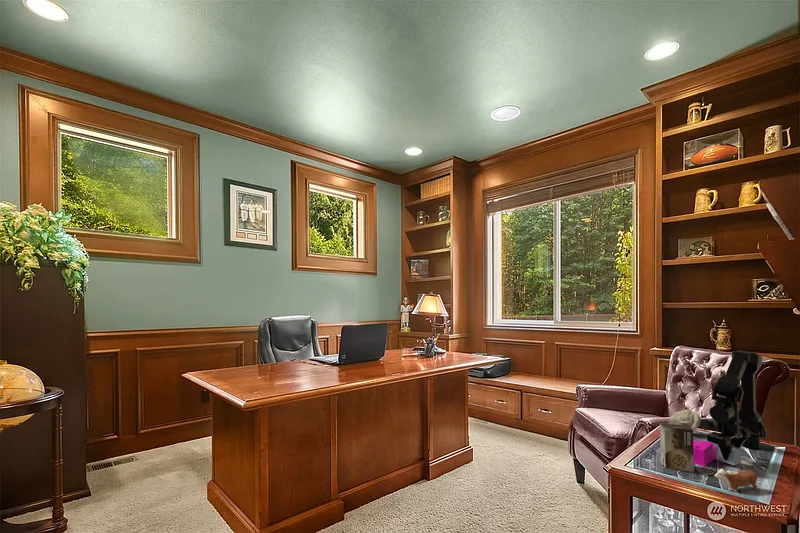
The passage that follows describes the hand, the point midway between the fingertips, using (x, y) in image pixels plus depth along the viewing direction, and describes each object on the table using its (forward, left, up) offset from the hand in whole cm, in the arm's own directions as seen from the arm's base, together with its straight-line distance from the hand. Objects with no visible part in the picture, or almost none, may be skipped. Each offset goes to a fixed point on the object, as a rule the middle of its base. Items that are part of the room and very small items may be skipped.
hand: (729, 458), depth 151 cm
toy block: (+3, -4, +1) cm, 5 cm away
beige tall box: (+20, -7, -3) cm, 21 cm away
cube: (0, 0, -1) cm, 1 cm away
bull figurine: (+20, +11, -3) cm, 23 cm away
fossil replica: (-18, -25, -3) cm, 31 cm away
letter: (-2, -1, -2) cm, 3 cm away
